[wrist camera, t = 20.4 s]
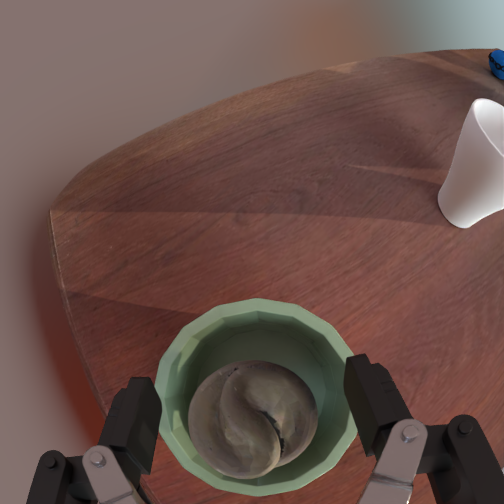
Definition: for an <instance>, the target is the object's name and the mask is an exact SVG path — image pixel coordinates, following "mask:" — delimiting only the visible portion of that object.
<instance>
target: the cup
mask: <svg viewBox="0 0 504 504" xmlns="http://www.w3.org/2000/svg"><path fill="white" fill-rule="evenodd" d="M438 204H439V207H440V209H441V212H442V213H443V215H444V216H445V218H446V219H447V220H448V221H449V222H451V223H452V224H453V225H455V226H457V227H459V228H468V227H470V226H471V225H473V224H474V223H476V222H477V221H479V220H480V219H482V218H484V217H486V216H488V215H490V214H492V213H494V212H496V211H499V210H501V209H504V107H503V106H502V105H500V104H499V103H496V102H494V101H492V100H489V99H484V98H480V99H476V100H475V101H474V102H473V103H472V105H471V107H470V110H469V112H468V114H467V116H466V119H465V121H464V124H463V127H462V130H461V133H460V136H459V139H458V142H457V145H456V150H455V153H454V157H453V161H452V164H451V167H450V170H449V173H448V175H447V178H446V180H445V182H444V183H443V185H442V187H441V189H440V190H439V193H438Z"/></svg>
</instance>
